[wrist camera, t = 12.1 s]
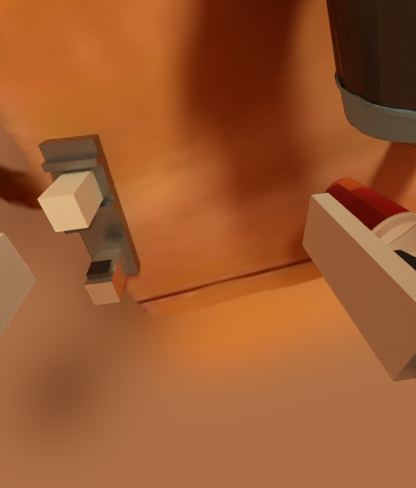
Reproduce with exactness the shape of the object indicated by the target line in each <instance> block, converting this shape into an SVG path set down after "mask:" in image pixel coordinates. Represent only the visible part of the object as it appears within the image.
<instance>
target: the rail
mask: <svg viewBox="0 0 416 488" xmlns="http://www.w3.org/2000/svg"><path fill="white" fill-rule="evenodd" d="M38 146H39V148H40V150H41V152H42V154H43V156H44V159H45V162H44V163H43V164H41V166H42V168H43V170H44V172H51V173H52V176H53V178H54V180H55V181H56V180H57V179H58V178H59V176H60V175H61V174H62V173H67V172H74V171H82V170H90V169H92V170H93V173H94V176H95V178H96V181H97V184H98V186H99V189H100V191H101V194H102V197H103V200H102V202H101V204H100V206H99V208H98V210H97V212H96V214H95V217H96V220H95V222H94V224H93V226H92V228H91V230H89V231H82V232H79V233H80V235H81V237H82V239H83V241H84V243H85V245H86V247H87V250H88V252H89V254H90V256H91V258H92V260H93V262H91V265H90V267H89V270H88V272H87V274H86V276H87V279H86V282H85V284H84V286H85V288H86V290H87V292H88V294H89V295H90V297H91V299H92V301H93V303H94V305H102V304H110V303H117V302H121V298H122V294H123V289H124V285H125V281H126V276H127V275H134V274H139V271H140V262H139V259H138V256H137V253H136V250H135V247H134V243H133V240H132V237H131V234H130V231H129V228H128V225H127V222H126V219H125V216H124V213H123V210H122V207H121V204H120V201H119V197H118V194H117V191H116V188H115V185H114V182H113V179H112V176H111V173H110V170H109V167H108V164H107V161H106V158H105V155H104V152H103V148H102V145H101V142H100V139H99V136H98V134H95V135H86V136H77V137H69V138H60V139H51V140H45V141H44V142H42V143H41V144H39V145H38Z"/></svg>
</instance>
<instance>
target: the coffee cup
mask: <svg viewBox="0 0 416 488" xmlns="http://www.w3.org/2000/svg"><path fill="white" fill-rule="evenodd" d="M326 193H329V194H330V195H331V196H332V197H333V198H335V199H336V200H337V201H338V202H339V203H340V204H341V205H342V206H344V207H345V208H346V209H347V210H348V211H349V212H350V213H351V214H353V215H354V216H355V217H356V218H357V219H358V220H359V221H360V222H361V223H363V224H364V225H365V226H366V227H367V228H368V229H369V230H370V231H372V232H373V233H374V234H375V235H376V236H377V237H378V238H379V239H381V240H382V241H383V242H384V243H385V244H386V245H387V246H388V247H390V248H391V249H392V250H402V251H404V252H406V253H408V254H410V255H412V256H414V257H415V256H416V212H410V211H409V210H407V209H405V208H403V207H402V206H400V205H398V204H396V203H394V202H393V201H391V200H389V199H387V198H386V197H384V196H382V195H380V194H379V193H377V192H375V191H373V190H371V189H370V188H368V187H366V186H364V185H362V184H360V183H359V182H357V181H355V180H352V179H348V178H345V179H341V180H338V181H336V182H335V183H333V184H332V185H331V186H330V187H329V188H328V189H327V191H326Z"/></svg>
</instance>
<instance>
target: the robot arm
mask: <svg viewBox="0 0 416 488" xmlns="http://www.w3.org/2000/svg"><path fill="white" fill-rule="evenodd" d="M326 2H327V9H328V16H329V23H330V31H331V38H332V45H333V52H334V59H335V67H336V72H335V81H336V84H337V87H338V88H339V90H340V92H341V97H342V102H343V107H344V112H345V115H346V118H347V120H348V121H349V123H350V124H351V125H353V126H354V127H356V128H357V129H358V130H359V131H360V132H361V133H363V134H365V135H367V136H370V137H373V138H376V139H380V140H385V141H391V142H403V143H416V0H326ZM302 246H303V247H304V249H305V250H306V252H307V253H308V255H309V256H310V258H311V259H312V261H313V262H314V264H315V265H316V267H317V268H318V270H319V271H320V273H321V274H322V276H323V277H324V279H325V280H326V282H327V283H328V285H329V286H330V288H331V289H332V291H333V292H334V294H335V295H336V297H337V298H338V300H339V301H340V303H341V304H342V305H343V307H344V308H345V310H346V311H347V313H348V314H349V316H350V317H351V319H352V320H353V322H354V323H355V325H356V326H357V328H358V329H359V331H360V332H361V334H362V335H363V337H364V338H365V340H366V341H367V343H368V344H369V345H370V347H371V349H372V350H373V352H374V353H375V355H376V356H377V358H378V359H379V361H380V362H381V364H382V365H383V366H384V368H385V370H386V371H387V373H388V374H389V375H390V377H391V378H392V380H393V381H398V380H406V379H412V378H416V257H414V256H412V255H410V254H408V253H406V252H404V251H402V250H392V249H391V248H390V247H388V246H387V245H386V244H385V243H384V242H383V241H382V240H381V239H379V238H378V237H377V236H376V235H375V234H374V233H373V232H372V231H370V230H369V229H368V228H367V227H366V226H365V225H364V224H363V223H361V222H360V221H359V220H358V219H357V218H356V217H355V216H354V215H353V214H351V213H350V212H349V211H348V210H347V209H346V208H345V207H344V206H342V205H341V204H340V203H339V202H338V201H337V200H336V199H335V198H333V197H332V196H331V195H330V194H329V193H322V194H314V195H311V197H310V203H309V209H308V214H307V220H306V226H305V231H304V237H303V243H302ZM35 281H36V278H35V277H34V276H33V274H32V273H31V271H30V270H29V268H28V267H27V265H26V264H25V263H24V261H23V260H22V258H21V257H20V255H19V254H18V252H17V251H16V250H15V248H14V247H13V245H12V244H11V242H10V241H9V239H8V238H7V236H6V235H5V234H4V233H0V337H1V335H2V334H3V332H4V330H5V329H6V327H7V326H8V324H9V323H10V321H11V319H12V318H13V316H14V315H15V313H16V312H17V310H18V308H19V307H20V305H21V304H22V302H23V300H24V299H25V297H26V296H27V294H28V292H29V291H30V289H31V288H32V286H33V284H34V283H35Z"/></svg>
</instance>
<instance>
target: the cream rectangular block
mask: <svg viewBox="0 0 416 488" xmlns="http://www.w3.org/2000/svg"><path fill="white" fill-rule="evenodd" d="M102 200H103V197H102V194H101V191H100V189H99V186H98V184H97V181H96V178H95V176H94V173H93V170H92V169H90V170H82V171H74V172H67V173H62V174H61V175H60V176H59V178H58V179H57V180H56V181H55V182H54V183H53V184H52V185H51V186H50V187H49V188H48V189H47V190H46V191H45V192H44V193H43V194H42V195H41V196H40V197H39V198H38V201H39V203H40V205H41V206H42V208H43V210H44V212H45V214H46V215H47V217H48V219H49V221H50V222H51V224H52V226H53V228H54V230H55V232H58V231H59V232H60V231H64V232H65V234H66V233H74V232H82V231H89V230H91V228H92V226H93V224H94V222H95V220H96V217H95V214H96V212H97V210H98V208H99V206H100V204H101V202H102Z"/></svg>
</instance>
